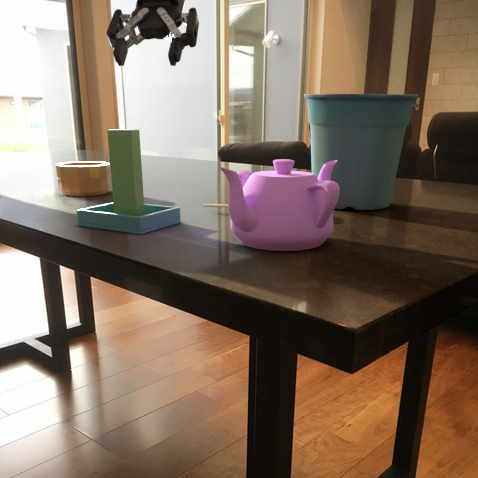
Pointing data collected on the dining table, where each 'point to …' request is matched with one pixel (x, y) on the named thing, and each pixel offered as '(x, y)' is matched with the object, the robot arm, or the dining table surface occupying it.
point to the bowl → (84, 178)
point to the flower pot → (359, 143)
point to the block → (126, 171)
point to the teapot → (282, 206)
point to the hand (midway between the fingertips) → (145, 61)
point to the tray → (128, 218)
